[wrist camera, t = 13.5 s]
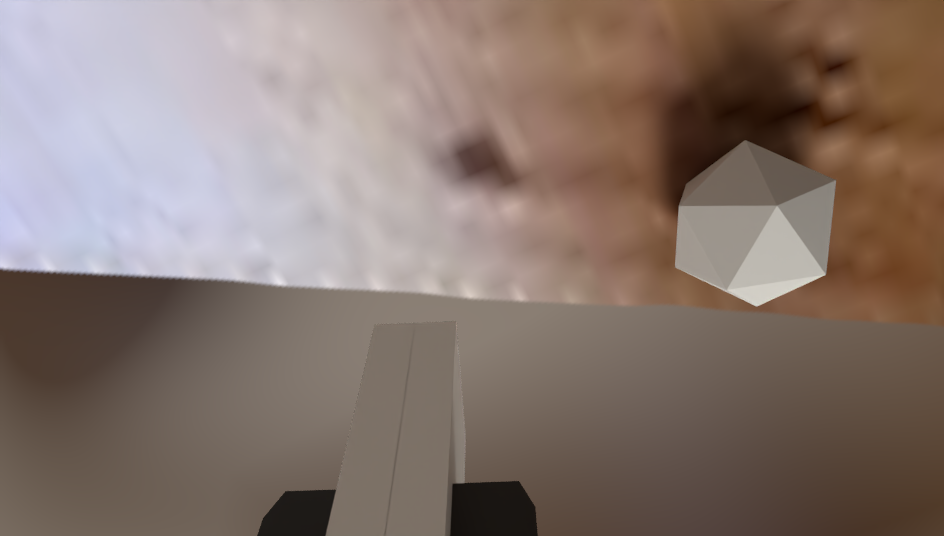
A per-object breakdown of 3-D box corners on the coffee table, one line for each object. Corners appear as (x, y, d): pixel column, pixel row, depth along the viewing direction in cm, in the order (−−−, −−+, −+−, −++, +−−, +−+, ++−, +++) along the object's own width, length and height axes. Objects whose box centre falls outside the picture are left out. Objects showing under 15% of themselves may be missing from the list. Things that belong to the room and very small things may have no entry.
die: (652, 264, 48) (777, 360, 42) (619, 193, 41) (762, 295, 35) (743, 175, 48) (878, 257, 42) (724, 89, 41) (883, 173, 35)
